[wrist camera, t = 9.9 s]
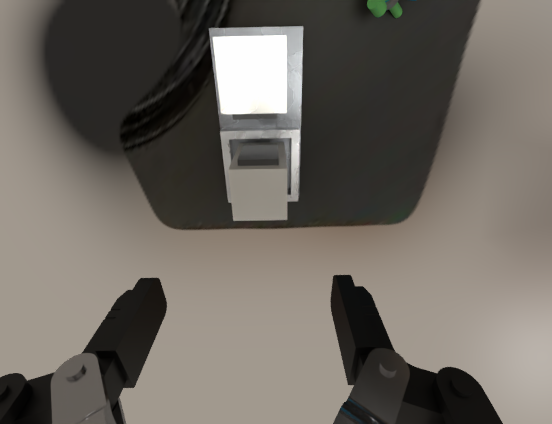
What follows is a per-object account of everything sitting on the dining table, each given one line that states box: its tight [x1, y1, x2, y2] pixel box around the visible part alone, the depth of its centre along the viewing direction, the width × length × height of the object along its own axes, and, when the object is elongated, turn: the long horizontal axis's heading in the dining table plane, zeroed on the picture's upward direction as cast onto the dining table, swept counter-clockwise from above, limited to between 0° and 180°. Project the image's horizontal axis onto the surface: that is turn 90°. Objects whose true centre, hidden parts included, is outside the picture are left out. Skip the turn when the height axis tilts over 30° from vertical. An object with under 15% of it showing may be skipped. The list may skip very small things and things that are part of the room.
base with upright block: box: [209, 26, 303, 203], centre depth 24 cm, size 16×8×9 cm, turn 1°
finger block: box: [228, 142, 287, 221], centre depth 25 cm, size 4×5×8 cm
